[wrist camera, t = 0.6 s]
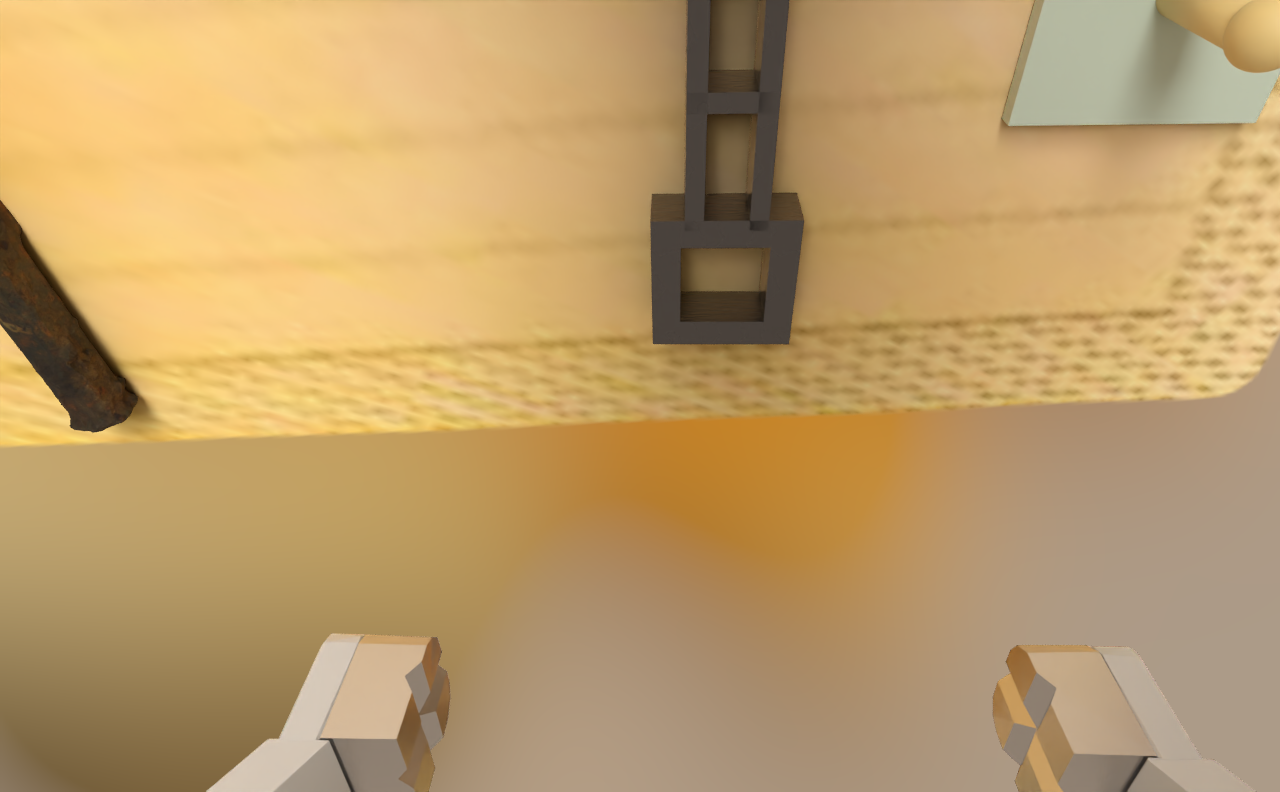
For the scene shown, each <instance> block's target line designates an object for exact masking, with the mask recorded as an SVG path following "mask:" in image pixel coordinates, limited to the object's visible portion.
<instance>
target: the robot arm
mask: <svg viewBox="0 0 1280 792" xmlns="http://www.w3.org/2000/svg"><path fill="white" fill-rule="evenodd" d="M441 653H442V651H441V648H440V644H439V641H438V638H437V637H414V636H390V635H387V636H386V635H367V634H331V635H330V636H329V637H328V638H327V639H326V641H325V642H324V643H323V644H322V646H321V648H320V650H319V652H318V654H317V657H316V659H315V661H314V663H313V665H312V667H311V670H310V672H309V674H308V676H307V678H306V680H305V683H304V685H303V687H302V689H301V691H300V693H299V696H298V698H297V700H296V702H295V704H294V706H293V709H292V711H291V713H290V715H289V717H288V720H287V722H286V724H285V726H284V729H283V730H282V733H281V735H280V737H279V739H268V740H266V741H265V742H264V743H263V744H262V745H260V746H259V747H258V748H257V749H256V750H255V751H253V752H252V753H251V754H250V755H249V756H247V757H246V758H245V759H244V760H243V761H241V762H240V763H239V764H238V765H237V766H236V767H235V768H233V769H232V770H231V771H230V772H229V773H227V774H226V775H225V776H224V777H223V778H221V779H220V780H219V781H218V782H217V783H216V784H214V785H213V786H212V787H211V788H210V789H208V790H207V791H206V792H429V789H430V786H431V782H432V778H433V774H434V771H435V765H434V762H433V758H432V755H431V751H430V750H431V749H432V748H433V747H434V746H435V745H436V744H437V743H438V742H439V741H440V740H441V739H442V738H443V737H444V733H445V729H446V725H447V721H448V715H449V705H450V682H449V678H448V674H447V671H446V670H444V669H443V668H442V667H440V666H439V665H438V664H439V660H440V657H441ZM1006 663H1007V666H1008V668H1009V671H1010V674H1008V675H1007V676H1005V677H1004V678H1002V679H1001V680H999V681H998V683H997V685H996V688H995V691H994V695H993V718H994V723H995V728H996V732H997V735H998V738H999V740H1000V743H1001V746H1002V749H1003V750H1004V751H1005V752H1006V753H1007V754H1008V755H1009V756H1010V757H1011V758H1013V759H1014V760H1015V761H1016V762H1017V763H1018V764H1019V765H1020V768H1019V770H1018V773H1017V776H1016V779H1015V783H1016V786H1017V788H1018V791H1019V792H1257V791H1255V790H1254V789H1253V788H1251V787H1250V786H1249V785H1247V784H1246V783H1245V782H1243V781H1242V780H1241V779H1239V778H1238V777H1237V776H1235V775H1234V774H1233V773H1231V772H1230V771H1229V770H1227V769H1226V768H1225V767H1223V766H1222V765H1221V764H1219V763H1218V762H1217V761H1216V760H1214V759H1202V757H1201V756H1200V754H1199V752H1198V751H1197V749H1196V748H1195V746H1194V744H1193V742H1192V741H1191V739H1190V738H1189V736H1188V734H1187V733H1186V731H1185V729H1184V728H1183V726H1182V724H1181V723H1180V721H1179V720H1178V718H1177V717H1176V715H1175V713H1174V711H1173V710H1172V708H1171V707H1170V705H1169V703H1168V702H1167V700H1166V698H1165V697H1164V695H1163V693H1162V692H1161V690H1160V688H1159V687H1158V685H1157V684H1156V682H1155V680H1154V679H1153V677H1152V675H1151V674H1150V672H1149V670H1148V669H1147V667H1146V665H1145V664H1144V662H1143V661H1142V659H1141V657H1140V656H1139V654H1138V653H1137V652H1135V651H1134V650H1133V649H1132V648H1130V647H1120V646H1118V647H1116V646H1115V647H1114V646H1110V647H1109V646H1107V647H1106V646H1103V647H1102V646H1100V647H1099V646H1092V647H1089V646H1087V645H1017V646H1016V647H1014V648H1013V649H1011V650H1010V652H1009V655H1008V657H1007V660H1006Z"/></svg>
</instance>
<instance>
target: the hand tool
mask: <svg viewBox="0 0 1280 792" xmlns="http://www.w3.org/2000/svg"><path fill="white" fill-rule="evenodd" d="M21 233H22V228H21V226H20V225H19V223H18V222H17V221H16V219H15V218H14V217H13V216H12V214H11V213H10V212H9V210H8V209H7V208H6V207H5V206H4V204H3V203H2V202H1V201H0V325H1V326H2V327H3V328H4V330H5V331H6V332H7V333H8V335H9V336H10V337H11V339H12V340H13V341H14V342H15V344H16V345H17V346H18V347H19V348H20V350H21V351H22V352H23V354H24V355H25V356H26V358H27V359H28V360H29V362H30V363H31V364H32V366H33V368H34V369H35V370H36V372H37V373H38V374H39V375H40V376H41V377H42V378H43V380H44V381H45V383H46V384H47V385H48V386H49V388H50V389H51V390H52V392H53V393H54V395H55V397H56V398H57V399H58V400H59V401H60V403H61V405H63V407H64V408H65V409H66V410H67V411H68V413H69V416H70V418H71V420H70V424H71V425H70V427H71V428H73V429H74V430H81V431H91V432H99V431H103V430H105V429H106V428H108V427H111V426H114V425H116V424H119V423H122V422H124V421H125V420H126V419H127V418H128V417H129V416H130V414H131V412H132V409H133V408H134V406H135V405H136V403H137V401H138V396H137V395H135V394H133V393H130V392H128V391H127V390H125V379H124V378H121V377H116V376H115V375H114V374H113V373H112V372H111V370H110V369H109V367H108V366H107V364H106V363H105V362H104V360H103V359H102V358H101V356H100V355H99V353H98V352H97V351H96V349H95V348H94V347H93V345H92V344H91V343H90V341H89V340H88V338H87V337H86V335H85V334H84V333H83V331H82V330H81V328H80V327H79V326H78V320H77V319H76V318H75V317H73V316H72V315H71V314H70V313H69V312H68V310H67V308H66V307H65V306H64V304H63V302H62V300H61V299H60V297H59V296H58V295H57V294H56V293H55V292H54V290H53V289H52V288H51V286H50V285H49V283H48V282H47V280H46V279H45V277H44V276H43V275H42V273H41V272H40V270H39V269H38V268H37V266H36V265H35V263H34V262H33V261H32V259H31V258H30V256H29V255H28V253H27V252H26V250H25V249H24V247H23V246H22V241H21V238H20V235H21Z"/></svg>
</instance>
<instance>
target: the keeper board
mask: <svg viewBox="0 0 1280 792" xmlns="http://www.w3.org/2000/svg"><path fill="white" fill-rule="evenodd" d="M1279 75H1280V0H1035V2H1034V5H1033V9H1032V13H1031V16H1030V20H1029V23H1028V27H1027V30H1026V34H1025V37H1024V41H1023V45H1022V48H1021V52H1020V55H1019V59H1018V62H1017V66H1016V70H1015V73H1014V77H1013V80H1012V84H1011V87H1010V91H1009V94H1008V98H1007V102H1006V105H1005V109H1004V112H1003V116H1002V119H1003V121H1004V122H1005V123H1006V124H1007V125H1008V126H1042V125H1123V124H1205V123H1256V121H1257V119H1258V117H1259V115H1260V113H1261V111H1262V109H1263V107H1264V105H1265V103H1266V101H1267V99H1268V97H1269V95H1270V93H1271V91H1272V89H1273V87H1274V85H1275V83H1276V81H1277V79H1278V77H1279Z"/></svg>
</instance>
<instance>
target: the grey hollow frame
mask: <svg viewBox="0 0 1280 792" xmlns="http://www.w3.org/2000/svg"><path fill="white" fill-rule="evenodd" d="M710 3H711V0H687V13H686V99H685V186H684V194H652V204H651V271H652V322H653V344H789V339H790V331H791V323H792V314H793V306H794V298H795V290H796V282H797V274H798V266H799V258H800V250H801V241H802V233H803V225H804V218H803V214H802V211H801V207H800V203H799V199H798V196H797V193H772V185H773V174H774V163H775V152H776V141H777V130H778V119H779V108H780V97H781V86H782V75H783V64H784V53H785V42H786V31H787V20H788V9H789V0H759V6H758V20H757V35H756V50H755V65H754V70H711V71H708V70H709V36H710ZM707 114H751V124H750V139H749V154H748V169H747V184H746V193H735V194H705V170H706V136H707ZM681 248H763V252H762V264H761V275H760V287H759V292H680V281H681Z"/></svg>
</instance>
